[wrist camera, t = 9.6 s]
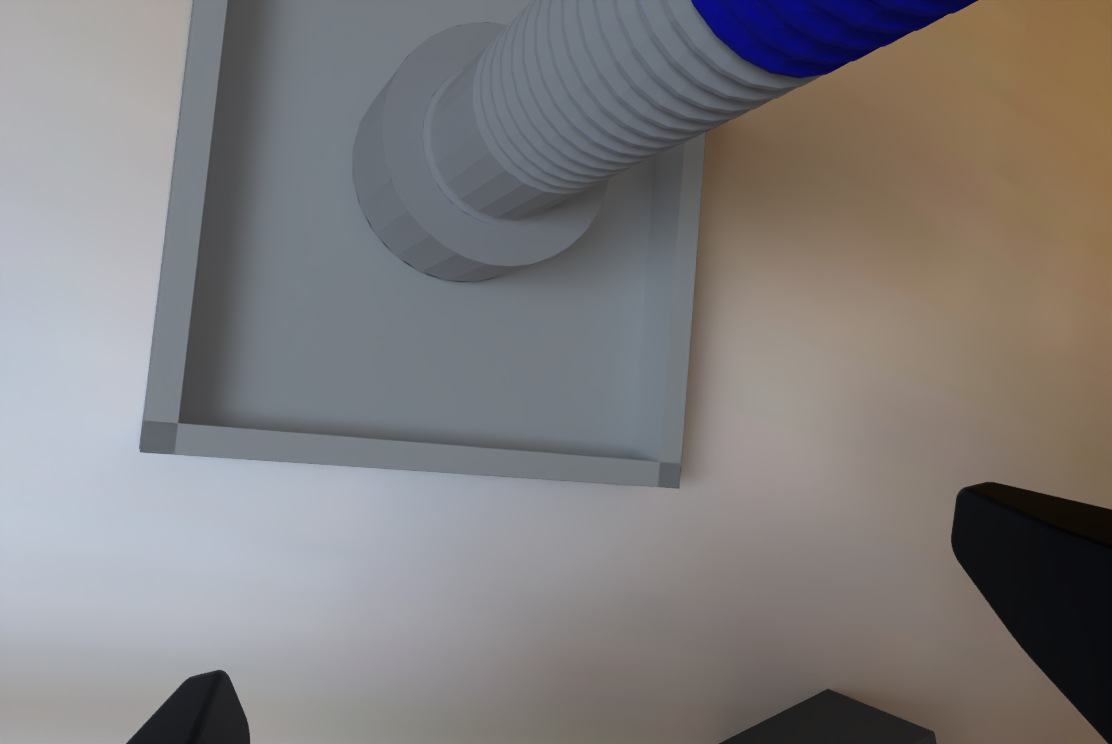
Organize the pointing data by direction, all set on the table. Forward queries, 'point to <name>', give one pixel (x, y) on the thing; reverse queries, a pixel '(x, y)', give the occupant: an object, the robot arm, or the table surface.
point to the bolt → (579, 112)
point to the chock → (833, 725)
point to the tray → (397, 281)
